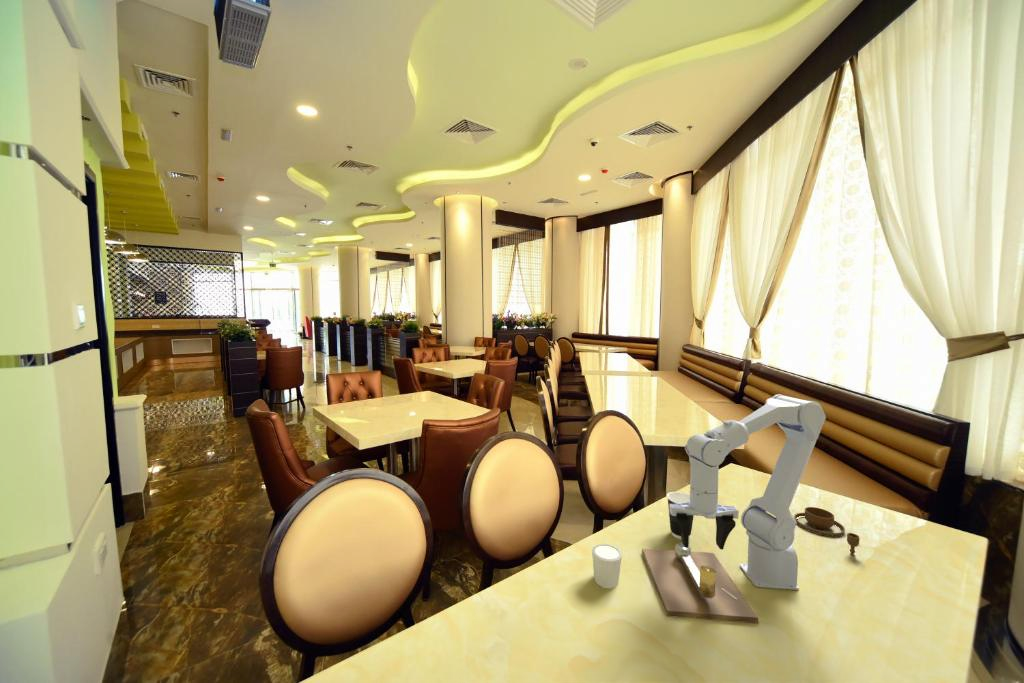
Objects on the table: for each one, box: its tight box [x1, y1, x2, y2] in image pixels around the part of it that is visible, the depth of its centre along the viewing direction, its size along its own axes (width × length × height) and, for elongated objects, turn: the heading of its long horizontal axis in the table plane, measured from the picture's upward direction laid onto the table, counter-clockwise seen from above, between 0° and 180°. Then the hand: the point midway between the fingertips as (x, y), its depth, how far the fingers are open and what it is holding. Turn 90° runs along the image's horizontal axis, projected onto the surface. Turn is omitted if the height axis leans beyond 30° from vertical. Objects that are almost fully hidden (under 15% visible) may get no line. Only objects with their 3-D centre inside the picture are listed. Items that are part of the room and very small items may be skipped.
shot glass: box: [591, 543, 623, 589], centre depth 91 cm, size 7×7×7 cm
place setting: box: [793, 506, 860, 557], centre depth 112 cm, size 18×20×6 cm
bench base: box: [641, 548, 760, 624], centre depth 90 cm, size 18×22×1 cm
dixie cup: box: [666, 491, 695, 540], centre depth 110 cm, size 8×8×11 cm
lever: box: [674, 542, 716, 598], centre depth 89 cm, size 4×18×7 cm, turn 174°
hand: (702, 546), depth 88 cm, fingers open, 7 cm apart
